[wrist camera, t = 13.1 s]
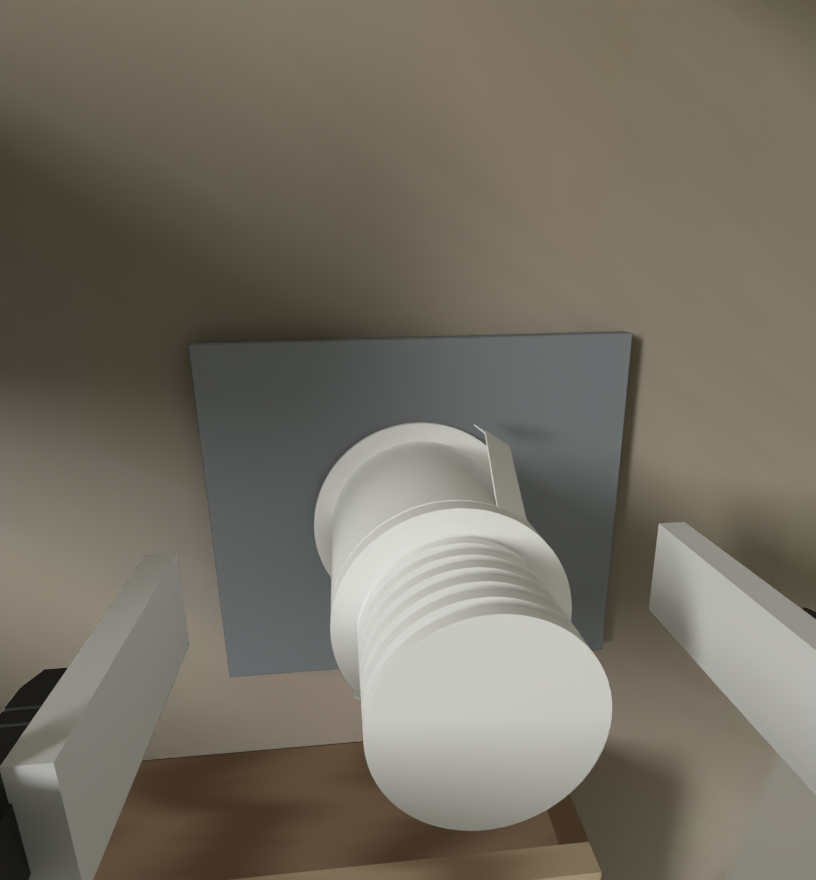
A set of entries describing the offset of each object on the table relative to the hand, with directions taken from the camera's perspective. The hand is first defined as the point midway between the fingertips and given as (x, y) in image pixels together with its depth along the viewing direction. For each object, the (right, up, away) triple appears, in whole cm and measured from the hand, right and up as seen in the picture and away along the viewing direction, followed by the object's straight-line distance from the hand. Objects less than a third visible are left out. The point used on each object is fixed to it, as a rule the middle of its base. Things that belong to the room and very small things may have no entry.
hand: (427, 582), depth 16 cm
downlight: (0, +1, +4) cm, 5 cm away
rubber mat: (0, +1, +5) cm, 5 cm away
